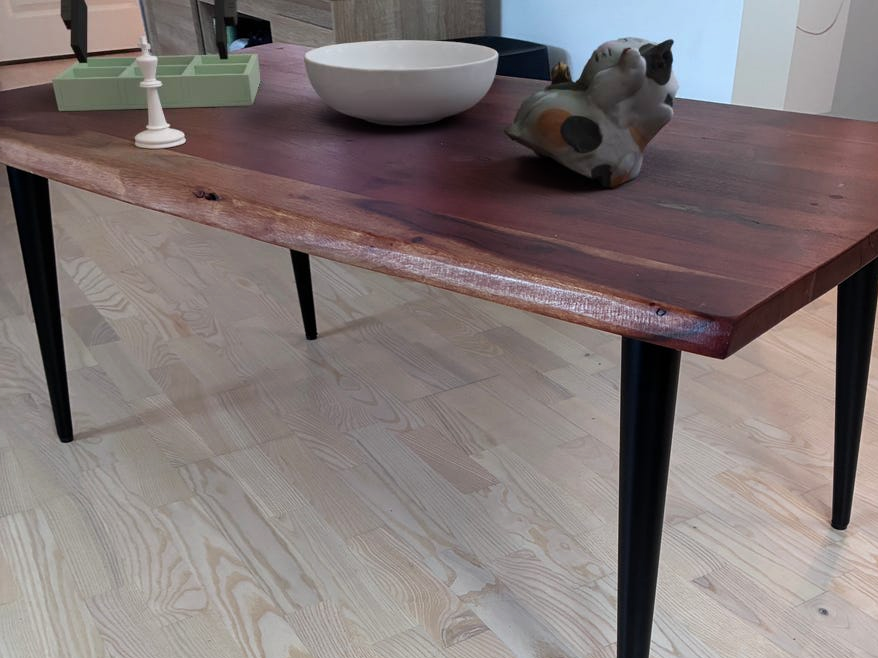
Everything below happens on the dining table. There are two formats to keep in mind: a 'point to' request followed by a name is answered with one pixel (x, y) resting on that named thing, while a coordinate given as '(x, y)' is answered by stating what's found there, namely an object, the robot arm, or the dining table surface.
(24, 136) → the dining table surface
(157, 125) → the chess piece
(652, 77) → the lucky cat figurine
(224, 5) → the robot arm
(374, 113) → the serving bowl
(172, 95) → the compartment tray
